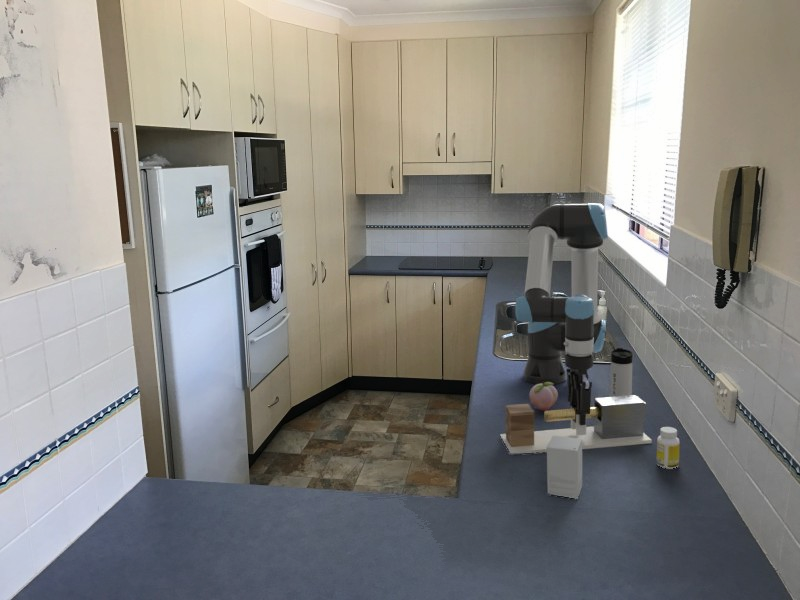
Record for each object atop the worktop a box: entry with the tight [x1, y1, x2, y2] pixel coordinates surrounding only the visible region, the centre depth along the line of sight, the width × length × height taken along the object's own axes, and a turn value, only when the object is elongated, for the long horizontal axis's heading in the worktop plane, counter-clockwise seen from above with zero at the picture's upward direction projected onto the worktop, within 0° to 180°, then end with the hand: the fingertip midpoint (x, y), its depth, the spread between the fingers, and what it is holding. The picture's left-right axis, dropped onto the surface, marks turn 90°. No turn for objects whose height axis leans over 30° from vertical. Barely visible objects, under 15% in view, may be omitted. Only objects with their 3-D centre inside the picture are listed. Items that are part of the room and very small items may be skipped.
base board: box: [499, 425, 653, 454], centre depth 186 cm, size 12×40×1 cm, turn 95°
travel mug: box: [609, 347, 633, 397], centre depth 202 cm, size 6×7×20 cm
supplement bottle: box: [656, 426, 681, 470], centre depth 168 cm, size 5×5×10 cm
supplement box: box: [546, 435, 583, 500], centre depth 157 cm, size 7×7×13 cm
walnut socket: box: [505, 403, 535, 447], centre depth 183 cm, size 6×6×10 cm
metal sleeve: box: [593, 394, 647, 439], centre depth 186 cm, size 6×13×10 cm, turn 95°
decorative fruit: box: [528, 381, 559, 412], centre depth 207 cm, size 9×8×10 cm
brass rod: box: [543, 405, 601, 423], centre depth 184 cm, size 4×26×4 cm, turn 95°
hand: (578, 431), depth 185 cm, fingers closed on brass rod, 3 cm apart
